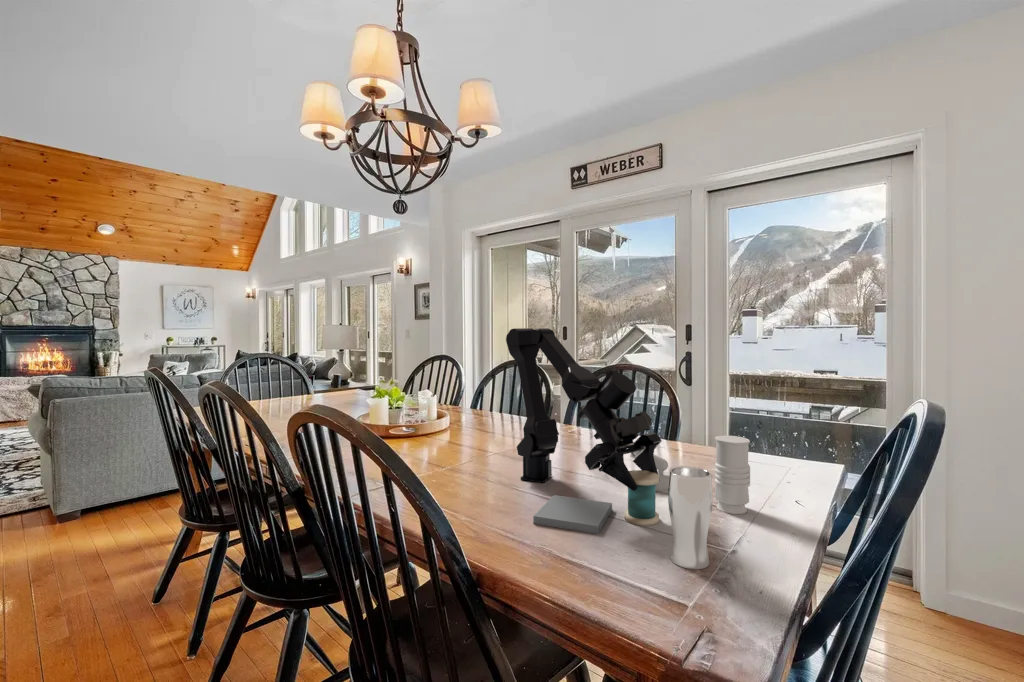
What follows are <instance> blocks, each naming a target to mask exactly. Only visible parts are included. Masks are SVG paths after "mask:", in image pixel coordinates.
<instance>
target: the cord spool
mask: <svg viewBox="0 0 1024 682" xmlns="http://www.w3.org/2000/svg"><path fill="white" fill-rule="evenodd" d="M628 471H629V472H630V474H631V476H632V477H633V479H634V481H635V483H636V485H637V489H636V490H635V491H633V490H631V489H630V488H628V487H627V509H626V510H625V511H624V512H623V513H624V514H623V515H624V516H623V517H624V520H625V521H626V522H627V523H630V524H633V525H635V526H643V527H647V526H648V527H649V526H655V525H657V524H659V522H660V514H659V513H658V512H657V511H656V499H657V498H656V495H657V493H656V491H657V490H656V484H658V483H659V475H658V474H656V473H654V472H650V471H644V470H641V469H634V470H628Z"/></svg>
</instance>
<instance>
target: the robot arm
mask: <svg viewBox="0 0 1024 682" xmlns="http://www.w3.org/2000/svg"><path fill="white" fill-rule="evenodd" d="M505 342H506V346H507V349H508V352H509V354H510V356H511V357H512V359H513V360H514V361H515V362H516V364H517V368H518V373H519V379H520V386H521V390H522V395H523V400H524V401H523V402H524V407H525V411H526V412H525V413H526V420H525V423H524V425H523V438H522V439H521V441H519V443H518V444H517V446H516V451H517V454H518V456H521V457H522V476H520V480H522V481H529V482H536V483H545V482H546V481H547V480H549V479H550V478H551V477H552V476H553V474H552V470H553V469H552V460H551V459H550V454H552V455H553V454H555V452H556V448H557V444H558V443H559V435H560V433H559V430H558V424H557V421H556V419H555V418H551V417H550V416H549V415H548V414H547V410H546V405H545V400H544V395H543V389H542V386H541V385H542V383H541V379H540V374H539V369H538V363H537V357H538V354H539V353H540V351H541V352H542V353H543V355H544V356H545V357H546V358H547V360H548V361H549V363H550V364H551V365H552V367H553V368H554V369H555V371H556V372H557V373H558V374H559V376H560V378H561V387H562V389H563V391H564V393H565V394H566V396H567V398H568V399H569V400H570V401H571V402H573V403H578V402H586V403H585V405H581V406H579V409H578V410H579V411H578V414H577V418H578V419H585V418H587V420H588V422H589V423H590V424H591V426H592V427H593V430H594V431H595V433H594V435H593V436H594V437H593V438H594V439H595V440H601V443H596V444H595V445H594V446H593V448H592V449H590V451H589V452H588V453H586V455H585V457H584V463H585V464H586V467H587V468H588V470H589V471H594V470H596V469H597V470H598V471H599V472H602V473H605V474H607V475H608V476H610V477H611V478H613V479H614V480H616V481H618V482H619V483H621V484H622V485H624V486H625V487H627V489H628V488H630V489H631V490H633V491H635V490H636V489H637V485H636V483H635V481H634V479H633V477H632V476H631V474H630V472H629V471H630V470H629V469H628V467H627V465H626V464H625V460H624V455H627V454H631V453H632V454H633V456H635V457H636V458H635V459H634V458H633V460H632V462H633V463H634V464H635V465H636V466H637V467H638V468H639V470H644V471H650V472H654V473H656V474H658V472H657V468H656V465H655V461H654V454H655V449H657V447H658V445H660V444H661V443H662V441H663V440H662V438H660V436H659V435H658V433H657V432H648V431H650V430H651V427H650V426H652V424H653V419H652V418H651V416H650V415H649V414H648V412H646V411H640V412H639V413H635V414H634V416H632V417H629V418H624V417H618V415H617V414H616V413H615V411H616V410H620V409H621V408H622V407H623V406H624V404H625V403H627V401H628V400H629V399H630V398H631V397H632V395H634V394H635V392H636V390H637V386H636V385H635V383H634V381H633V380H632V379H630V377H628V376H627V375H625V374H623V373H620V372H619V370H618V369H610V370H609V371H608V372H607V374H606V375H605V377H604V379H603V380H602V381H601V380H599V378H598V377H597V376H596V375H595V374H594V373H592V372H591V371H590V370H589V369H587V368H585V367H583V366H581V365H580V364H579V363H577V361H576V360H575V359H574V357H573V356H572V355H571V354H570V353H569V352H568V350H567V349H566V347H564V345H563V344H562V342H561V341H560V340H559V339H558V338H557V336H556V335H555V331H554V330H553V329H551V328H543V327H542V328H539V327H538V328H535V329H534V328H533V327H532V328H529V327H527V328H526V327H524V328H522V327H521V328H517V327H516V328H515V327H514V328H511V329H510V330H509V331H508V333H507V334H506V336H505ZM614 410H615V411H614ZM645 431H647V432H648V433H647V432H646V433H642V432H645ZM639 433H642V434H641V435H639ZM634 440H635V441H634ZM659 482H660V478H659Z"/></svg>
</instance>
